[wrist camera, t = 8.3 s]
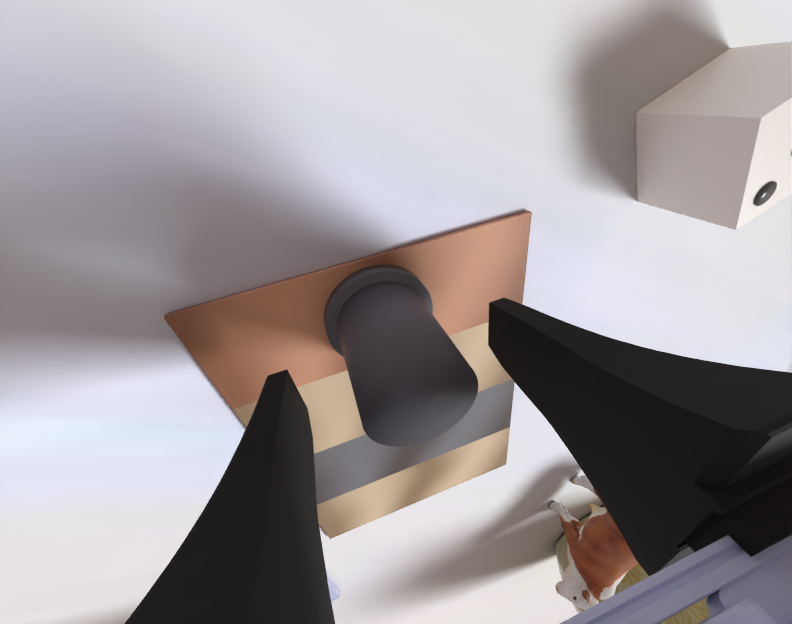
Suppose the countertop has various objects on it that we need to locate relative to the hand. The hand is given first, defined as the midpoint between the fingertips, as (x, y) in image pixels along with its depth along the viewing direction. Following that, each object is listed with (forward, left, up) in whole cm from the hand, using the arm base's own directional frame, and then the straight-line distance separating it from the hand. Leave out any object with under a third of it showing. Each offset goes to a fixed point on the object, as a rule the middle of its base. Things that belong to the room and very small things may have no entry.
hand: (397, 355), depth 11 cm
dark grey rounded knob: (0, 0, -3) cm, 3 cm away
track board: (0, -8, -3) cm, 8 cm away
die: (+14, +4, -3) cm, 15 cm away
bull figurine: (+15, -30, -3) cm, 34 cm away
